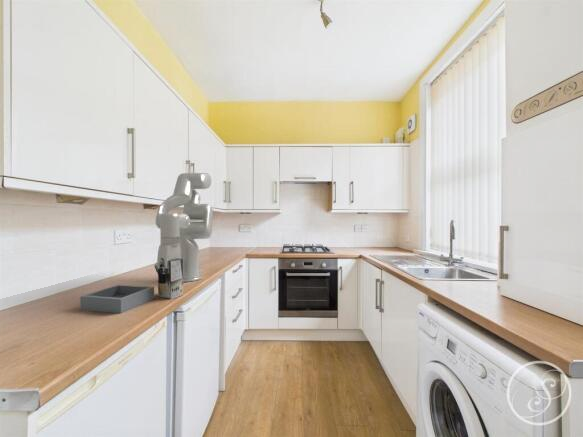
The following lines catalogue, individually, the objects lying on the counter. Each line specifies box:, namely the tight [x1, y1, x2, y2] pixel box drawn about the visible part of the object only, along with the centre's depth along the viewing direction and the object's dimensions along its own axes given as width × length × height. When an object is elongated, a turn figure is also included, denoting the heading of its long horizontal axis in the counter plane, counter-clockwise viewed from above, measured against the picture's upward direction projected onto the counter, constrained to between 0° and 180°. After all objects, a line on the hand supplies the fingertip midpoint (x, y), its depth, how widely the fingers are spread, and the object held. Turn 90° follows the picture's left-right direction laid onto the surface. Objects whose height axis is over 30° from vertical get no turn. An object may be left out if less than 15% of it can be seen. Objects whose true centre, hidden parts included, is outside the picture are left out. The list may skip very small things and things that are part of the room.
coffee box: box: [157, 259, 184, 300], centre depth 108 cm, size 9×6×16 cm
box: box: [79, 284, 155, 314], centre depth 98 cm, size 16×18×5 cm
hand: (170, 280), depth 108 cm, fingers open, 9 cm apart
